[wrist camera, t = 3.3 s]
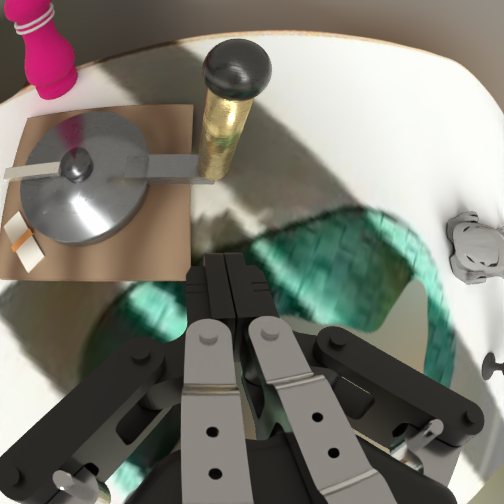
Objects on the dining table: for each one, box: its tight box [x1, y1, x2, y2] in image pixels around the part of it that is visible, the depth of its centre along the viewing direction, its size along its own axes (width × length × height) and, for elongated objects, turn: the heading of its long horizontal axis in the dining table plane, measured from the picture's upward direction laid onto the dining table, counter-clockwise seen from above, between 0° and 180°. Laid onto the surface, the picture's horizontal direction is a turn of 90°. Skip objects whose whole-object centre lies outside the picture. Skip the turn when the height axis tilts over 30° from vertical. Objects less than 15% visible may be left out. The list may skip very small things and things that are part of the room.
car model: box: [447, 212, 504, 285], centre depth 38 cm, size 11×24×5 cm, turn 89°
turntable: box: [4, 39, 272, 247], centre depth 19 cm, size 24×14×17 cm, turn 93°
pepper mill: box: [4, 0, 77, 100], centre depth 20 cm, size 7×7×20 cm
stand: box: [0, 104, 194, 281], centre depth 27 cm, size 22×20×2 cm
